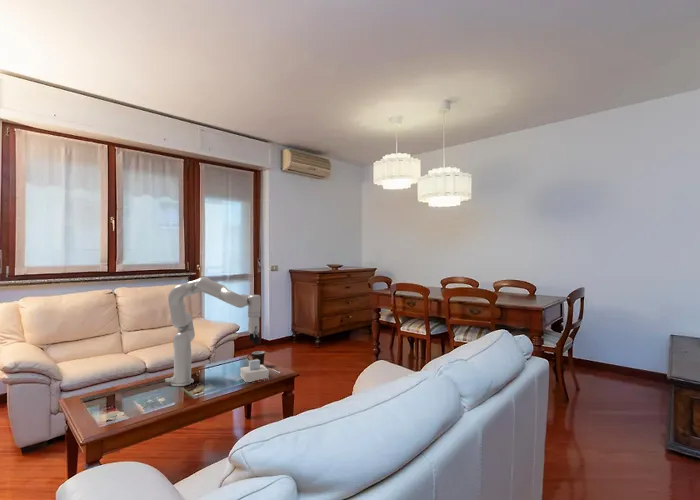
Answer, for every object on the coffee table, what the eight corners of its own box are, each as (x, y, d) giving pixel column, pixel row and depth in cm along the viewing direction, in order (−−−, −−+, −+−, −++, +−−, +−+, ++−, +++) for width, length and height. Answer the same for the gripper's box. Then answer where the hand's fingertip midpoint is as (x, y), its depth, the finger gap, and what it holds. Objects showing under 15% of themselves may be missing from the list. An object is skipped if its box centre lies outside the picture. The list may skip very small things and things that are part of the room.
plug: (250, 378, 223) (250, 362, 223) (248, 376, 226) (248, 360, 227) (259, 376, 226) (259, 360, 226) (258, 375, 229) (258, 359, 230)
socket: (245, 383, 217) (245, 373, 217) (240, 377, 229) (240, 367, 229) (268, 379, 223) (268, 369, 223) (262, 373, 236) (262, 364, 236)
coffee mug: (267, 366, 252) (267, 352, 253) (258, 369, 245) (258, 354, 245) (255, 364, 258) (255, 350, 259) (246, 367, 251) (246, 352, 252)
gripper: (245, 313, 233) (244, 340, 233) (251, 316, 218) (251, 345, 218) (256, 312, 237) (256, 339, 236) (263, 315, 222) (263, 344, 221)
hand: (253, 342), depth 227 cm, fingers open, 9 cm apart
